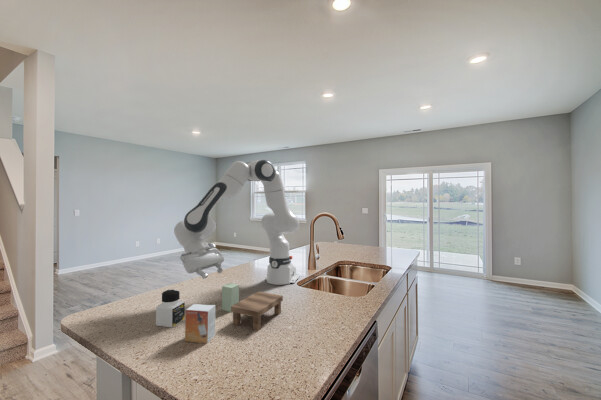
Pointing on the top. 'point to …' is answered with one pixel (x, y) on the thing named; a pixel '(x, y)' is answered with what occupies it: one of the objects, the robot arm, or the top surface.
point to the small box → (200, 323)
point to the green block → (229, 296)
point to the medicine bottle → (170, 309)
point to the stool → (256, 307)
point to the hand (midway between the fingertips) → (213, 274)
